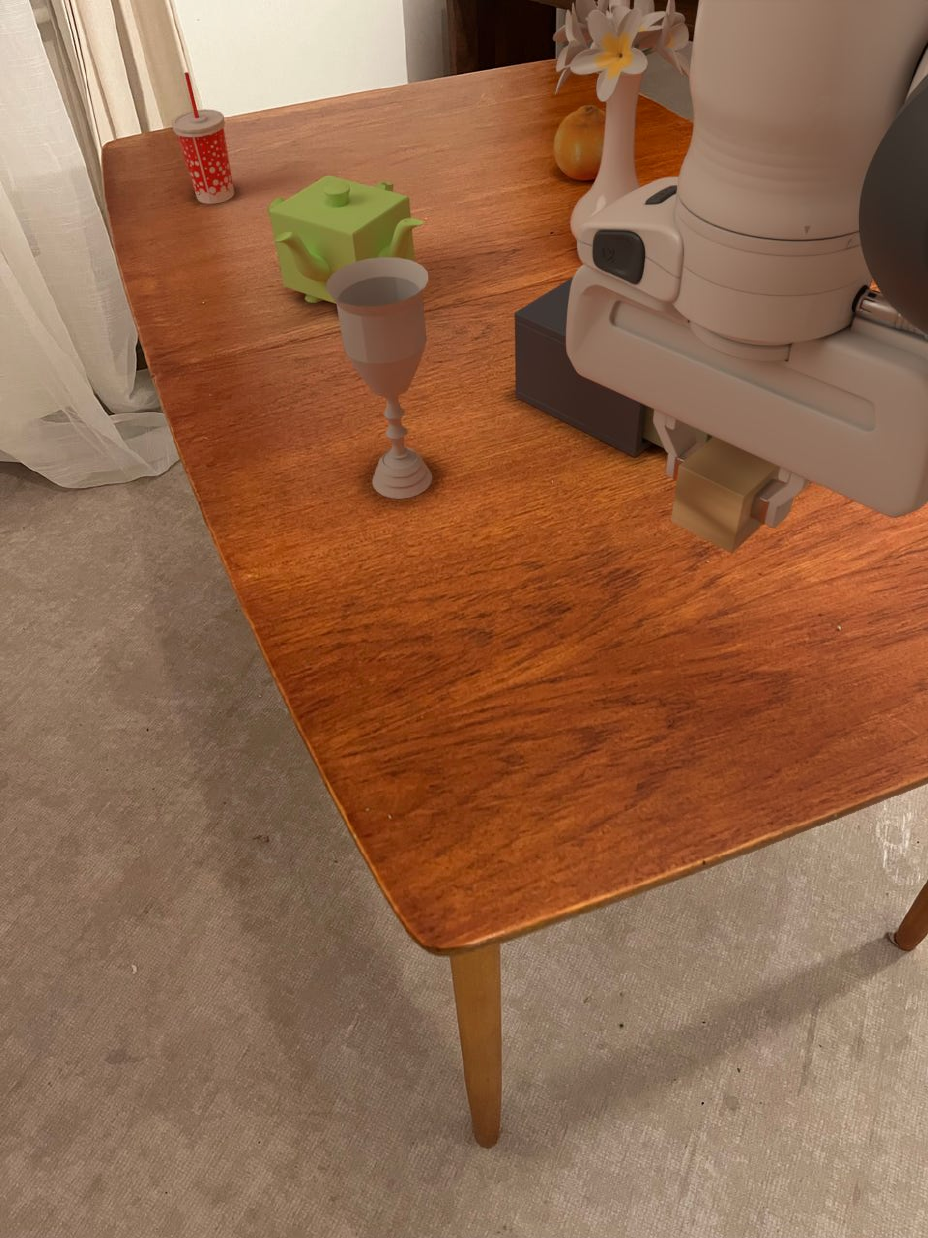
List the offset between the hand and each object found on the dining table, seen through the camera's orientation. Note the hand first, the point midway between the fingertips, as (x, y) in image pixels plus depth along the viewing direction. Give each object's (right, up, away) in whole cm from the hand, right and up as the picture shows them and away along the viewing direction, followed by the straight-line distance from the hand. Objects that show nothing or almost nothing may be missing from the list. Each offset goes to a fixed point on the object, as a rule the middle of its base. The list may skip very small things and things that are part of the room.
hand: (725, 496), depth 54 cm
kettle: (-26, +27, +50) cm, 63 cm away
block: (0, -1, +1) cm, 2 cm away
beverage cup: (-45, +46, +68) cm, 94 cm away
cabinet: (0, +14, +36) cm, 38 cm away
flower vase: (+1, +34, +54) cm, 64 cm away
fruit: (+1, +48, +67) cm, 82 cm away
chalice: (-19, +5, +29) cm, 35 cm away
